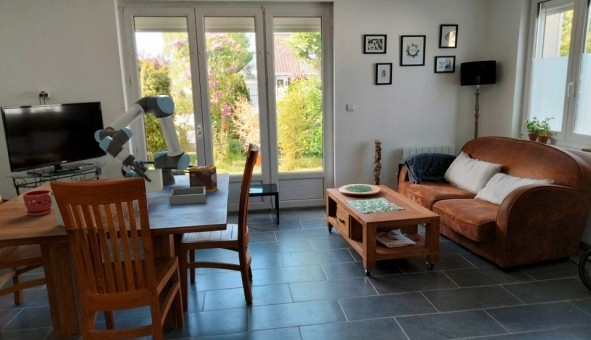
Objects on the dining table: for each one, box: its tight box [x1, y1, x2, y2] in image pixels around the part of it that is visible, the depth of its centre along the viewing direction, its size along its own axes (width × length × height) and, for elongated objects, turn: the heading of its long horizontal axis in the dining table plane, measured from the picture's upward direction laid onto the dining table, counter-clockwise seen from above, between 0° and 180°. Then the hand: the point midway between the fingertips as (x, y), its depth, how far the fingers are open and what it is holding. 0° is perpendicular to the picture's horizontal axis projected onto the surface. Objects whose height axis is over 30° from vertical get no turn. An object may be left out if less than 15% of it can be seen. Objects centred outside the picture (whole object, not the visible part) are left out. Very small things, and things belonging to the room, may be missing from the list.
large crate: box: [168, 187, 207, 207], centre depth 234 cm, size 20×20×6 cm
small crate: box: [142, 168, 164, 194], centre depth 228 cm, size 11×11×12 cm
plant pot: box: [22, 189, 53, 217], centre depth 211 cm, size 13×13×12 cm
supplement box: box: [188, 165, 218, 193], centre depth 259 cm, size 10×15×16 cm
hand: (156, 182), depth 229 cm, fingers closed on small crate, 11 cm apart
